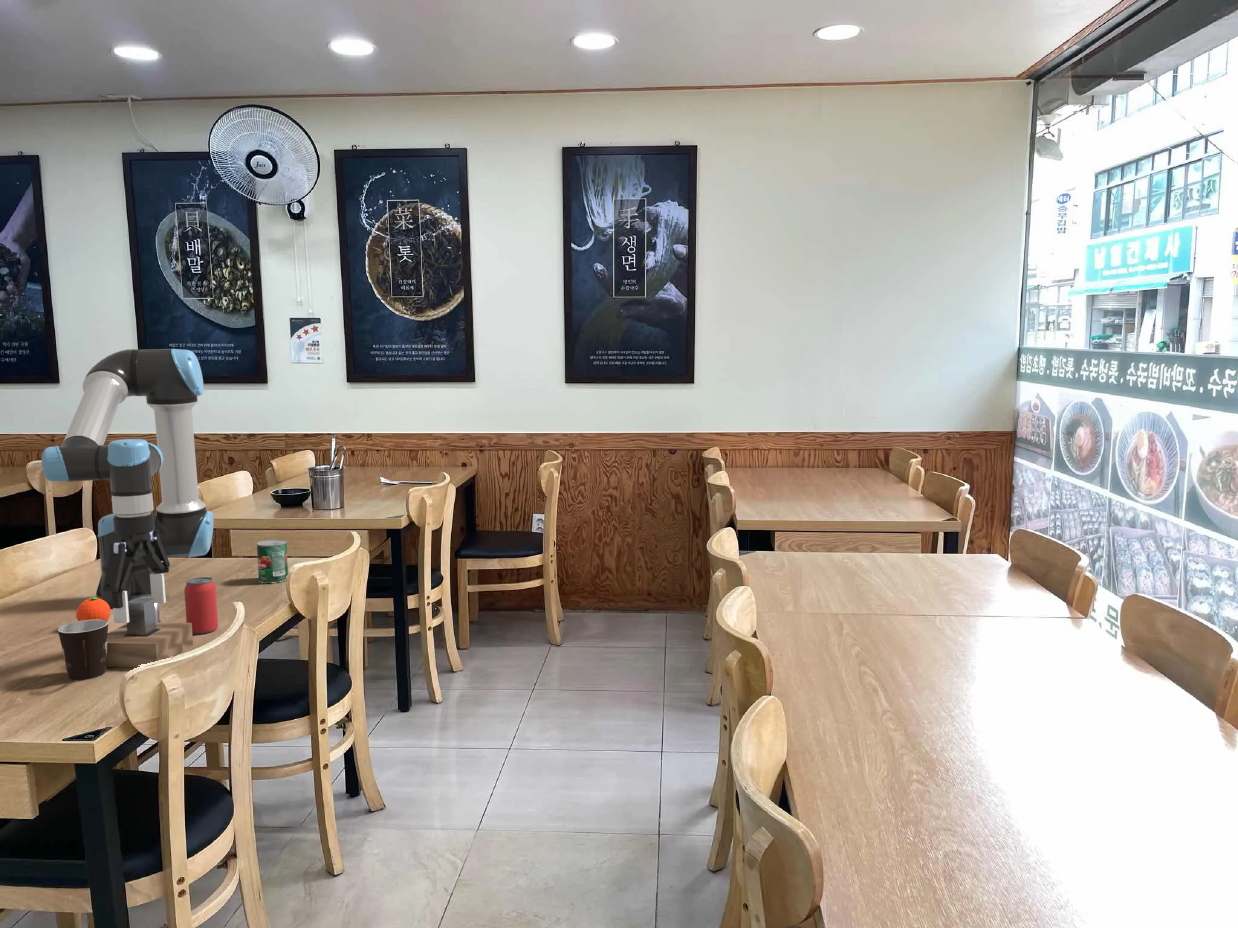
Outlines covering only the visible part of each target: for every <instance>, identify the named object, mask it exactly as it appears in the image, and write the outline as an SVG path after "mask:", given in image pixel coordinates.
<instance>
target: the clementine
mask: <svg viewBox="0 0 1238 928" xmlns="http://www.w3.org/2000/svg"><path fill="white" fill-rule="evenodd" d="M110 616H111V608H110V607H109V605H108V603H107V602H105V601H104V600H102V599H100V598H97V597H89V598H87V599H85V600H84V601H82V602H81V603H80V604H79V605H78V606H77V610H76V619H77V622H78V621H84V620H105V621H107V622H108V620H109V619H110Z"/></svg>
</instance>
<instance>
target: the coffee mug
mask: <svg viewBox="0 0 1238 928" xmlns="http://www.w3.org/2000/svg"><path fill="white" fill-rule="evenodd" d="M57 633H58V636H59V641H60V645H61V649H62V655H63V658H64V663H65V667H66V672H67V677H68V679H69V680H70V681H71V680H72V681H86V680H92V679H95V678H98V676H99V677H102V676H103V675H104V674H105V673H106V672H107V671H106V670H107V667H106V655H107V636H108V633H109V622H108V620H107V621H105V620H84V621H78V620H77V621H73V622H70V623H67V624H66V623H65V624H64V625H61V626H59V628H58V629H57Z"/></svg>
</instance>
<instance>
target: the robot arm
mask: <svg viewBox="0 0 1238 928" xmlns="http://www.w3.org/2000/svg"><path fill="white" fill-rule="evenodd" d="M204 387H205V386H204V379H203V374H202V369H201V365H200V362H199V359H198V357H197V356H196V354H195V353H194V352H193V351H191V350H189V349H181V348H180V349H178V348H162V349H159V348H158V349H150V348H149V349H131V348H130V349H129V348H128V349H123V350H119V351H117V352H113V353H112V354H109V355H107V356H105V357H104V358H102V359H101V360H100V361H98V362H97V363H96V364H95V365H94V366H93V367H91V368H90V369H89V371H88V372H87V373H86V375H85V377H84V380H83V382H82V391H83V394H82V397H81V399H80V401H79V404H78V406H77V409H76V411H75V413H74V415H73V418H72V420H71V423H70V424H69V428H68V429H67V431H66V432H67V433H66V434H65V437H64V440H63V441H62V444H61V445H60V446H58V445H55V446H48V447H46V448H44V450H43V451H42V455H41V469H42V473H43V476H44V478H45V479H46V480H48V481H50V482H66V483H69V482H71V483H72V482H87V481H88V482H91V481H109V483H110V492H111V493H110V494H111V502H112V503H111V504H112V506H111V507H112V513H111V514H110V513H109V514H106V515H105V516H103V517H101V518H100V519H99V520H98V523H97V526H98V528H97V533H98V534H97V538H98V546H99V556H100V557H99V561H100V570H101V571H100V572H101V575H100V578H99V581H98V585H97V589H96V593H95V597H97V598H100V599H102V600H104V601H105V602H107V603H108V605H109V607H110V609H111V608H112V611H113V622H114V623H115V624H127V623H128V622H129V611H128V601H130V600H132V599H135V598H139V597H140V596H143V595H148V594H151V597H152V598H154V600H155V603H160V604H165V603H167V599H166V587H165V574H164V573H169V572H170V566H171V563H170V560H169V559H176V558H189V559H190V558H191V557H192V558H194V557H201V556H205V555H207V554H208V553H209V551H210V548H211V546H212V541H213V534H214V520H215V518H214V513H213V512H212V511H210V510H207V505H206V503H205V502H204V501H202V499H200V496H199V486H198V485H199V484H198V473H197V461H196V460H197V459H196V446H195V436H194V423H193V410H192V409H193V408H194V407H195V405H196V404H197V403H198V397H200V396H202V395H203V394H204ZM127 397H129V398H130V397H145V398H146V400H145V401H146V405H147V406H148V407H150V408H152V410H153V412H154V424H155V435H156V445H155V444H154V443H150V442H148V441H147V440H145V439H144V438H143V439H141V438H123V439H116V440H112V441H110V442H109V443H108V445H107V444H105V442H106V439H107V436H108V434H109V431H110V428H111V426H112V423H113V420H114V418H115V416H116V412H117V410H118V408H119V405H121V403H124V401H125V400H126V398H127ZM104 444H105V445H104ZM157 473H159V480H160V481H159V482H160V483H159V484H160V492H161V502H160V503H159V505H157V506H156V507H155V508H156V509H155V508H154V499H153V490H152V489H153V488H152V487H153V486H152V477H153V476H154V475H157ZM154 510H156V511H155V512H156V513H155V514H154V513H153V511H154Z"/></svg>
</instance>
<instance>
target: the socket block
mask: <svg viewBox="0 0 1238 928" xmlns="http://www.w3.org/2000/svg"><path fill="white" fill-rule="evenodd" d="M156 627H157V632H155V633H153V634H151V635H150V636H148V637H129V636H127V623H124V624H123V625H121V626H119V627H117V628H116V629H113V630H112V631H108V636H107V655H106V668H110V667H112V666H113V667H115V666H116V667H115V668H117V667H119V668H120V667H121V668H138V667H137V666H138V665H141V664H147V663H150V662H155V661H159V660H161V659H166V658H170V657H171V656H175V655H176V656H177V655H179V654H181V653H182V652H184V651H186V650H187V649H189V648H191V647H192V646H193V645H194V640H193V639H194V638H193V634H192V623H186V622H164V621H163V622H162V621H161V622H156ZM176 656H175V657H176ZM107 666H108V667H107ZM113 667H112V668H113Z"/></svg>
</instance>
